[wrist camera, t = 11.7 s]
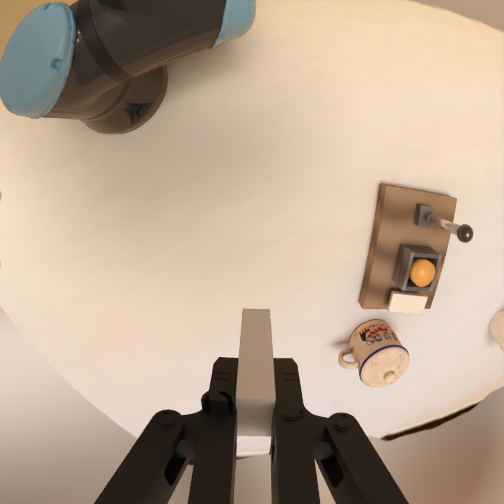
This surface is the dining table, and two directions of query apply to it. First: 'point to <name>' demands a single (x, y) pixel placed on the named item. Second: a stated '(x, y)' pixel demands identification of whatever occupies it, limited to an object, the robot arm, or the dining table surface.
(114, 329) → the dining table surface
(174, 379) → the dining table surface
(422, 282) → the push button
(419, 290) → the switch panel
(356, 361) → the teacup with lid
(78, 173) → the dining table surface
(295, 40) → the dining table surface
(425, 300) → the rocker switch
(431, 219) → the toggle lever
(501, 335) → the foam cup
